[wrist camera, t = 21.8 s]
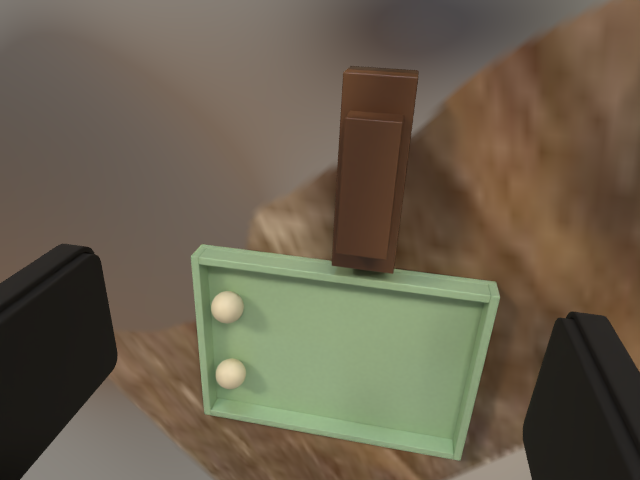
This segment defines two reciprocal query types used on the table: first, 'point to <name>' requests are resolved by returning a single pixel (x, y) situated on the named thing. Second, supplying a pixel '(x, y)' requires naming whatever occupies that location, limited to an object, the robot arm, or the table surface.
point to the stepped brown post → (372, 165)
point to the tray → (345, 348)
